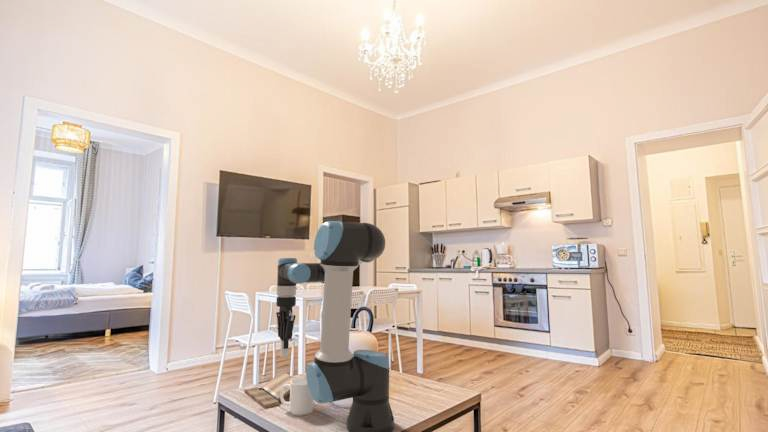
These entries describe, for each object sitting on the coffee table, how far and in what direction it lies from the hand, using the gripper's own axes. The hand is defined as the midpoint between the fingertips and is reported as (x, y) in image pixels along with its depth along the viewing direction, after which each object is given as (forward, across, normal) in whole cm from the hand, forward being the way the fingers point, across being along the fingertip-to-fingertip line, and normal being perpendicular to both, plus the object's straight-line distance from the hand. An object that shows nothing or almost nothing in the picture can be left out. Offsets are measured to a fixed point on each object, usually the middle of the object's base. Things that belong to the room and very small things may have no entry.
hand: (284, 356), depth 156 cm
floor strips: (+14, 0, +9) cm, 17 cm away
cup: (+14, -19, +4) cm, 24 cm away
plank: (+11, 0, +1) cm, 11 cm away
